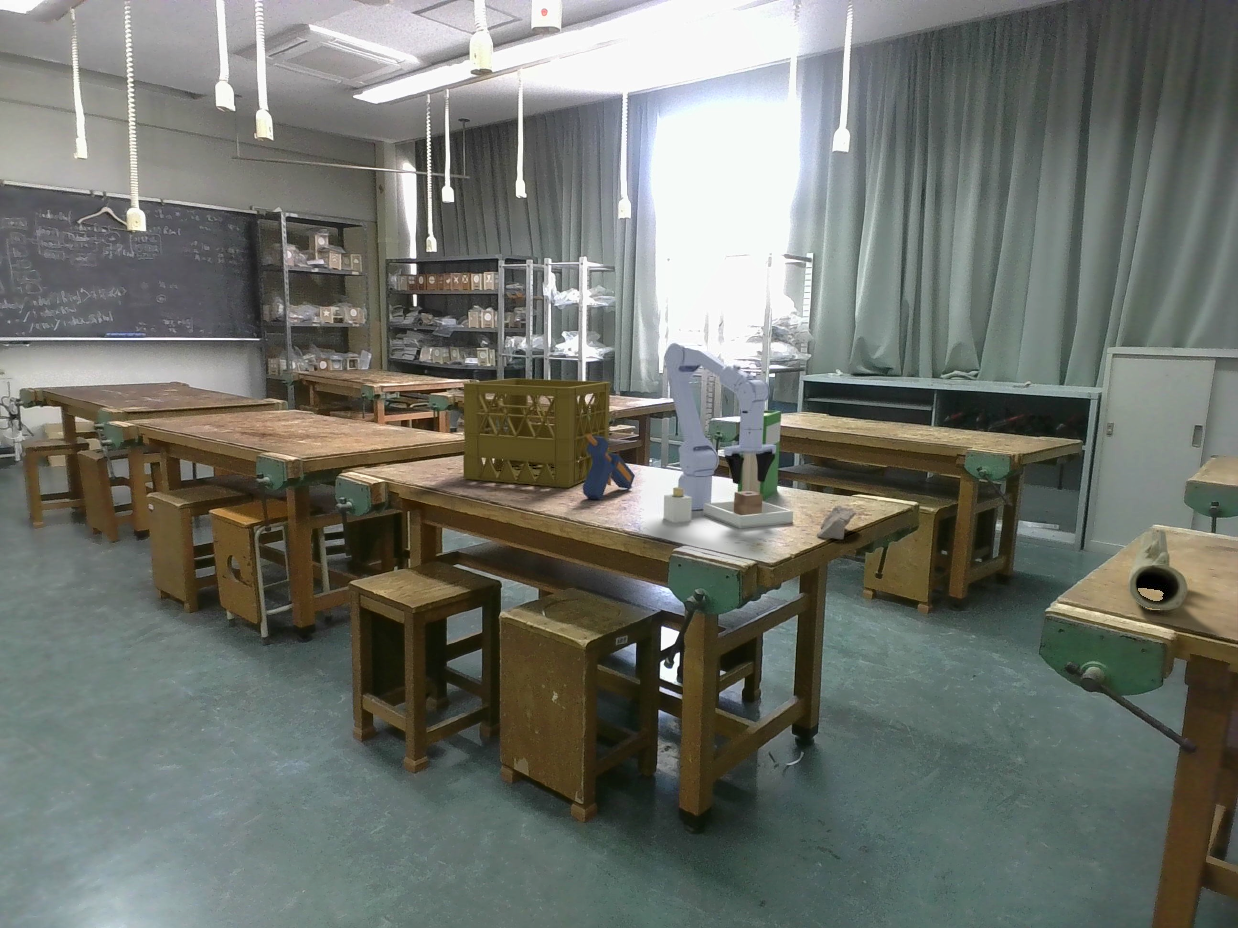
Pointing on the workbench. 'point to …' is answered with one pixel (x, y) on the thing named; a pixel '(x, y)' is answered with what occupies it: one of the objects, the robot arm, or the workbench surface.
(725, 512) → the tray
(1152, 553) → the pipe
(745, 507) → the walnut block
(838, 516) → the concrete fragment
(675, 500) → the pale grey block
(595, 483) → the glue gun
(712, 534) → the workbench surface
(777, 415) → the hardback book
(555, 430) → the milk crate
